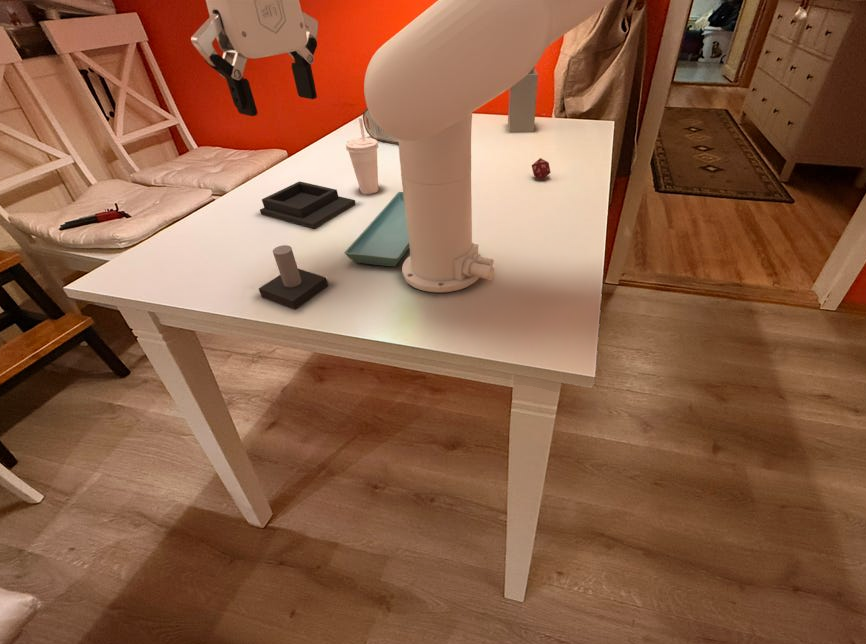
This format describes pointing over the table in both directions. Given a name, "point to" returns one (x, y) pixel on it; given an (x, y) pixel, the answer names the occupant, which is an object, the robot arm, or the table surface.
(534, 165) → the dice
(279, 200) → the base pad
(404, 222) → the teal serving tray
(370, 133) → the tin
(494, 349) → the table surface
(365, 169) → the smoothie
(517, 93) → the perfume bottle
